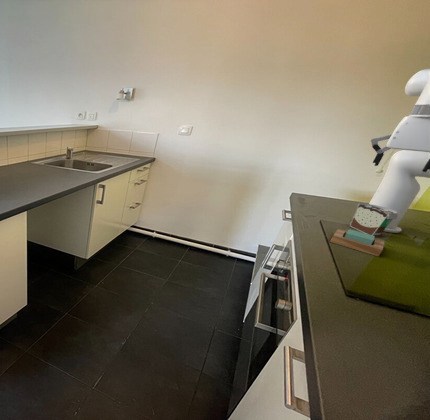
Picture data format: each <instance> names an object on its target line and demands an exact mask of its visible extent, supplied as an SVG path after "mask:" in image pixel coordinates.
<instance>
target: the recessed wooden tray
mask: <svg viewBox="0 0 430 420" xmlns="http://www.w3.org/2000/svg"><path fill="white" fill-rule="evenodd" d="M347 232H348V230H345V229H341V228H337V230H336V231H335V233H334V234H333V235H332V237H331V239H330V240H329V243H332V244H335V245H339V246H342V247H346V248H347V249H352V250H354V251H359V252H361V253H365V254H369V255H372V256H375V257H380V255H381V254H382V252H383V251H384V247H385V246H384V245H385V240H383V239H378V238H376V237H375V238H374V241H373V242H372V244H371V245H370V244H366V243H363V242H359V241H356V240H352V239H349V238H345V235H346V234H347Z"/></svg>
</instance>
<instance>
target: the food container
mask: <svg viewBox="0 0 430 420" xmlns="http://www.w3.org/2000/svg"><path fill="white" fill-rule="evenodd" d="M355 208H356V210H355V212H354V214H353V217H352V219H351V221H350V224H349V227H351V228H352V229H353V230H356V231H358V232H362V233H366V234H369V235H373V236H375V238H378V237H380V236H381V235H382V233H383V232H385V231H384V230H385V228H386V227H387V226H388V225H389V223H390V222H391V221H392V220H393V219H397V215H398V214H397V212H396V211H394V210H392V209H388V208H385V207H381V206H376V205H371V204H369V203H364V202H359V203H358V204H357V205H356V206H355Z"/></svg>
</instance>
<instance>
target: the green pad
mask: <svg viewBox="0 0 430 420" xmlns="http://www.w3.org/2000/svg"><path fill="white" fill-rule="evenodd" d="M347 231H348V232H347V234H346V235H345V238H349V239H352V240H356V241H359V242H363V243H366V244H370V245H371V244H372V242H373V241H374V238H375V239H376V237H375V236H373V235H369V234H366V233H363V232H361V231H359V230H355V229H350V228H349V229H348V230H347Z"/></svg>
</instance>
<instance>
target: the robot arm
mask: <svg viewBox="0 0 430 420" xmlns="http://www.w3.org/2000/svg"><path fill="white" fill-rule="evenodd" d="M404 93H405V95H406V96H408V97H418V98H417V100H416V101H415V103H414V106H413V108H412V110H411V111H410V113H409V115H408V116H404V117H403V118H402V119H401V120H400V122H399V123H398V124H397V126H396V127H395V128H394V130H393V132H391V133H392V134H388V135H384V136H379V137H374V138H372V139H371V140H370V143H371V147H372V149H373V150H374V151H375V153H376V155H375V157H374V158H373V161H372V163H373V164H374V167H377V166H379V164H380V162H381V161H382V159H383V157H384V156H385V152H387V151H390V150H398V151H396V152H395V153H394V154H392V156H391V158H390V160H389V162H388V166H387V168H386V171H385V173H384V176H383V178H382V180H381V182H380V184H379V185H378V187H377V189H376V191H375V192H374V194H373V196H372V197H371V199H370V201H369V203H368V204H371V205H376V206H381V207H385V208H388V209H392V210H394V211H396V212H397V214H398V215H397V219H393V220H392V221H391V222H390V223H389V225H388V226H387V227H386V228H385V230H384V231H383V232H386V233H390V234H391V233H392V234H399V233H401V232H402V231H403V230H402V228H401V227H399V224H400V222H401V220H402V219H403V218H404V216H405V214H406V213H407V211H408V210H409V208H410V207H411V205H412V203H413V202H414V200H415V199H416V197H417V196H418V194H419V192H420V191H421V185H420V183H419V180H418V179H416V177H418V178H419V177H420V178H426V179H427V178H428V179H430V68H425V69H421V70H419V71H418V72H416V73H415V74H413V75H412V76H411V77H410V78H409V79H408V81H407V82H406V84H405V87H404ZM385 140H387V143H386V146H385V147H382V148H381V146H380V145H379V142H381V141H385Z"/></svg>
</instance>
